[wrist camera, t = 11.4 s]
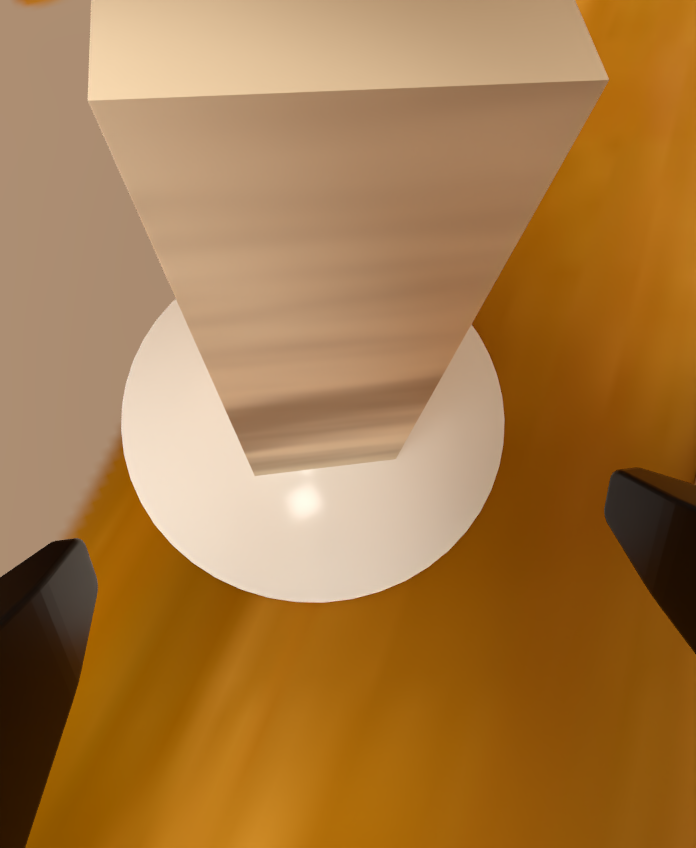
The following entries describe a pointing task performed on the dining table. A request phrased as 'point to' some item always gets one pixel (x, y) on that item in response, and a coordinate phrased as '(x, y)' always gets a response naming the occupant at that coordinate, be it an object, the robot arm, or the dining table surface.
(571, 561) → the dining table surface
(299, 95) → the maple block
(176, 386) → the plate
